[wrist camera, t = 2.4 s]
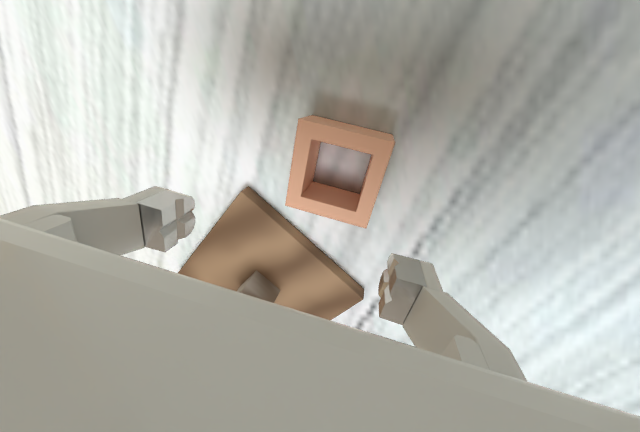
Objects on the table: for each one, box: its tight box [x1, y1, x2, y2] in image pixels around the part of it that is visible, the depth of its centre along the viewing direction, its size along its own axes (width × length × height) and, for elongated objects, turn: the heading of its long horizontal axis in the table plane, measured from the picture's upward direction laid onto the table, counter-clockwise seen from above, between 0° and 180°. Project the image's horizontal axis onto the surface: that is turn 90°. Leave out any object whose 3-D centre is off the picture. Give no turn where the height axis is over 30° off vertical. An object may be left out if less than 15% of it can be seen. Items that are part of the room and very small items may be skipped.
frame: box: [285, 115, 395, 228], centre depth 20 cm, size 7×7×4 cm
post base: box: [178, 186, 364, 320], centre depth 26 cm, size 16×16×6 cm
